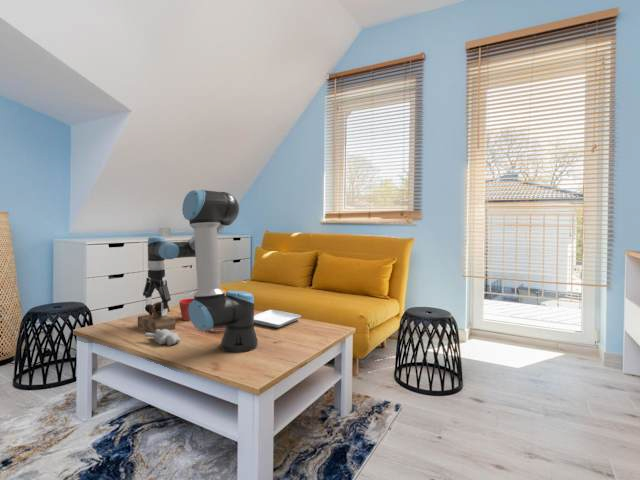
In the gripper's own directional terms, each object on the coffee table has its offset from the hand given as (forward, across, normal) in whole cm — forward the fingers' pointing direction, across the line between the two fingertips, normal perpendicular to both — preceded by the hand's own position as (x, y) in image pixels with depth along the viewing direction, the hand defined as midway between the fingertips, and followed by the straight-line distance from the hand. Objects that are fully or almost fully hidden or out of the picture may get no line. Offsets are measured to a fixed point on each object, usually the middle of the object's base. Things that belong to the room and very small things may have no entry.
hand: (156, 313), depth 180 cm
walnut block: (+7, 0, 0) cm, 7 cm away
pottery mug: (+2, 0, -1) cm, 3 cm away
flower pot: (+7, +2, -20) cm, 21 cm away
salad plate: (+8, -36, -45) cm, 58 cm away
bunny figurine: (+8, -22, +9) cm, 25 cm away
